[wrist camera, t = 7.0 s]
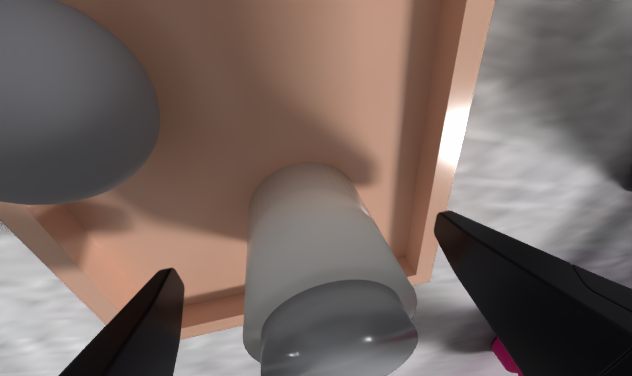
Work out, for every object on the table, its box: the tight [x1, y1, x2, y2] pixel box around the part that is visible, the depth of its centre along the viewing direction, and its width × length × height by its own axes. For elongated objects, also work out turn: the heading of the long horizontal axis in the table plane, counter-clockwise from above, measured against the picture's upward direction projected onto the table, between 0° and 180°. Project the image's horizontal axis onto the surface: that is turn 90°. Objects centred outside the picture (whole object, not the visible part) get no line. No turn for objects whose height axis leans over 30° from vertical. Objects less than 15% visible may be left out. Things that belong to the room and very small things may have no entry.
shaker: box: [243, 162, 418, 376], centre depth 8 cm, size 4×4×6 cm
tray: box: [0, 0, 495, 340], centre depth 9 cm, size 14×14×2 cm
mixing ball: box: [0, 0, 160, 205], centre depth 5 cm, size 4×4×4 cm
